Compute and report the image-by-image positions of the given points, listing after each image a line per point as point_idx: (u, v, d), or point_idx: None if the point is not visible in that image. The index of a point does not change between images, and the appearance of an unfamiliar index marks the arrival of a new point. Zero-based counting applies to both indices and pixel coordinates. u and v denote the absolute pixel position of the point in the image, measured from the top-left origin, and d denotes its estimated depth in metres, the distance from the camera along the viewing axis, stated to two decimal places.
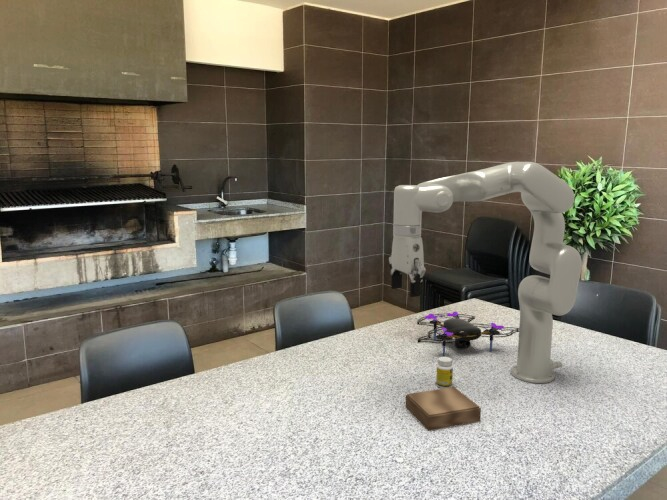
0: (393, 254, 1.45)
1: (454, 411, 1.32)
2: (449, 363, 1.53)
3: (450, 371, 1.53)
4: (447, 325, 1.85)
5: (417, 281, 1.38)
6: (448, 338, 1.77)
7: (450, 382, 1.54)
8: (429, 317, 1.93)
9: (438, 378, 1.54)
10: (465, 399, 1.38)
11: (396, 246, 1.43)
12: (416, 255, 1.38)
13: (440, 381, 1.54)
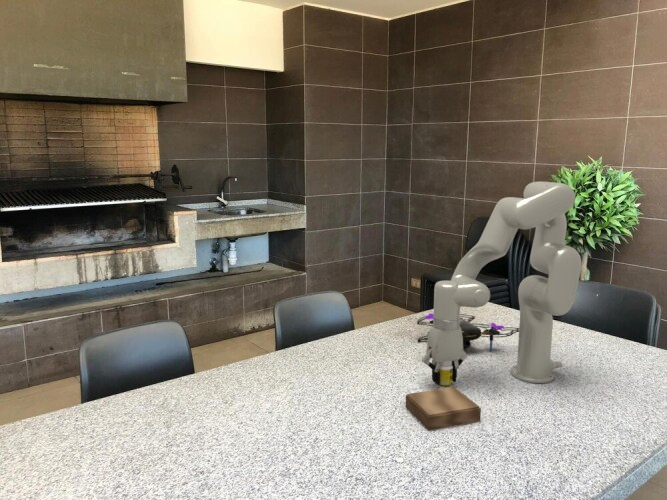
0: (440, 349, 1.51)
1: (454, 411, 1.32)
2: (449, 363, 1.53)
3: (450, 371, 1.53)
4: None
5: None
6: None
7: (450, 382, 1.54)
8: (429, 317, 1.93)
9: None
10: (465, 399, 1.38)
11: (446, 340, 1.51)
12: None
13: (440, 381, 1.54)
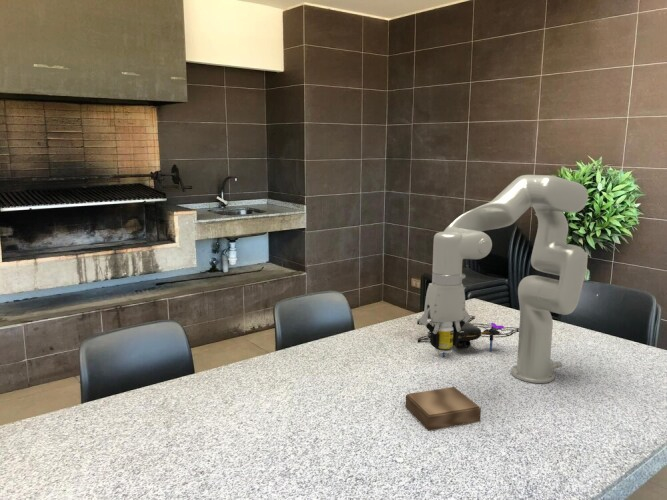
0: (439, 307, 1.35)
1: (454, 411, 1.32)
2: (449, 324, 1.37)
3: (450, 333, 1.37)
4: None
5: None
6: None
7: (450, 345, 1.38)
8: None
9: None
10: (465, 399, 1.38)
11: (446, 297, 1.35)
12: None
13: (439, 344, 1.38)
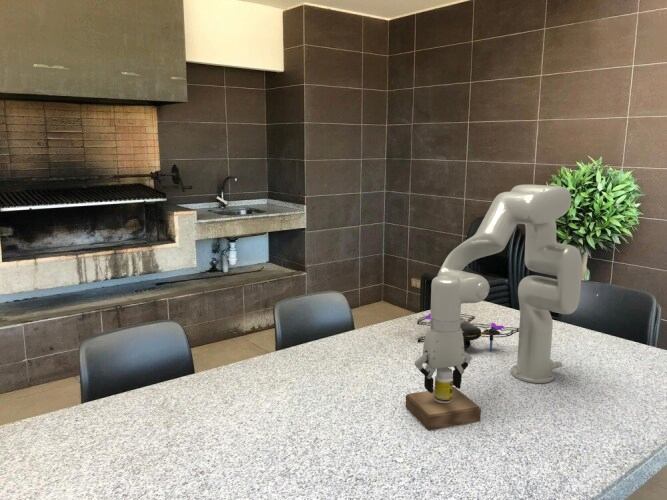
0: (437, 354, 1.32)
1: (454, 411, 1.32)
2: (449, 374, 1.35)
3: (450, 383, 1.35)
4: None
5: None
6: None
7: (450, 396, 1.36)
8: (429, 317, 1.93)
9: (436, 391, 1.37)
10: (465, 399, 1.38)
11: (444, 344, 1.32)
12: None
13: (438, 395, 1.36)
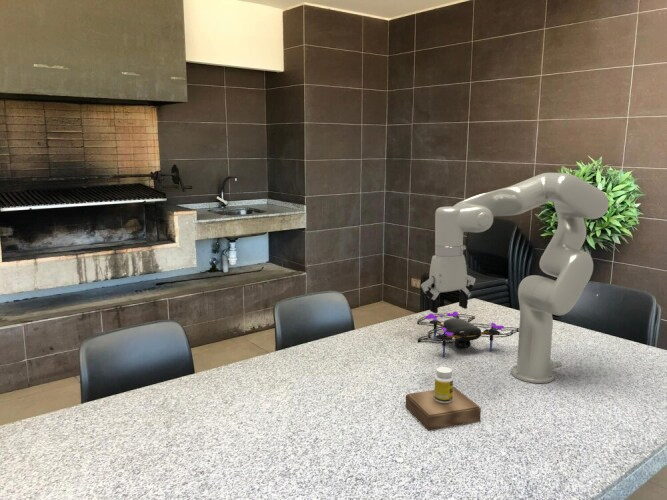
0: (443, 277, 1.44)
1: (454, 411, 1.32)
2: (449, 374, 1.35)
3: (450, 383, 1.35)
4: (447, 325, 1.85)
5: None
6: (448, 338, 1.77)
7: (450, 396, 1.36)
8: (429, 317, 1.93)
9: (436, 391, 1.37)
10: (465, 399, 1.38)
11: (449, 268, 1.44)
12: None
13: (438, 395, 1.36)
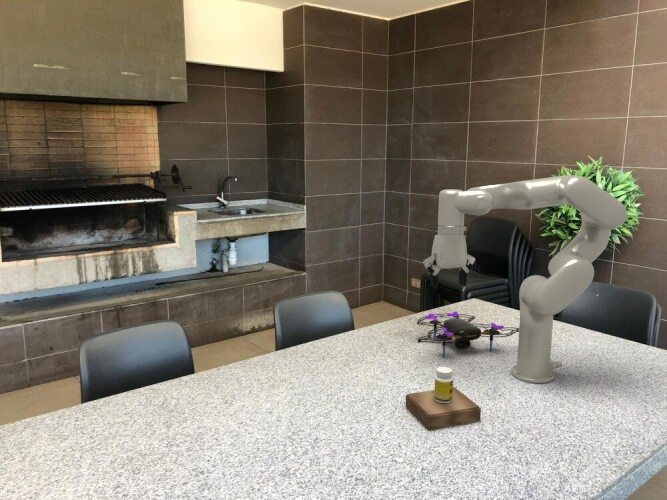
0: (444, 255, 1.55)
1: (454, 411, 1.32)
2: (449, 374, 1.35)
3: (450, 383, 1.35)
4: (447, 325, 1.85)
5: None
6: (448, 338, 1.77)
7: (450, 396, 1.36)
8: (429, 317, 1.93)
9: (436, 391, 1.37)
10: (465, 399, 1.38)
11: (450, 246, 1.55)
12: None
13: (438, 395, 1.36)
